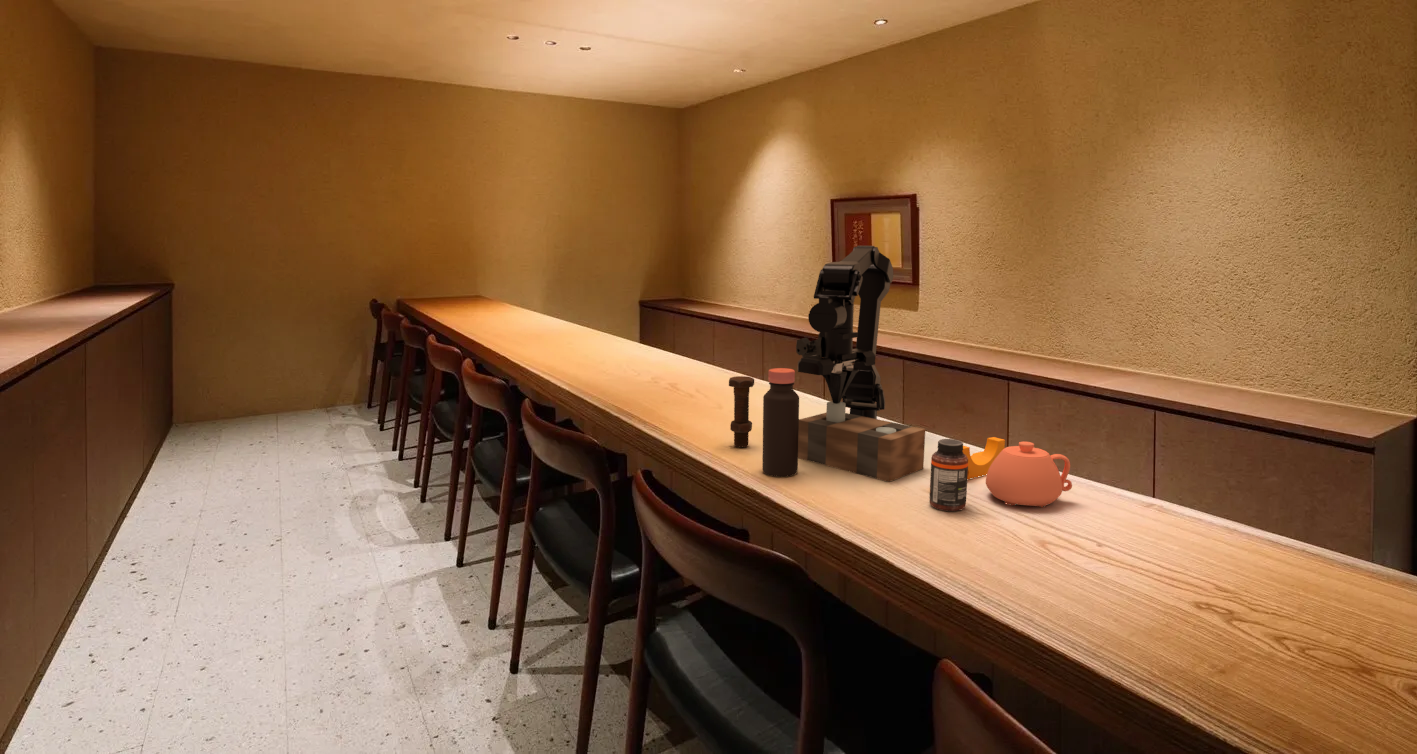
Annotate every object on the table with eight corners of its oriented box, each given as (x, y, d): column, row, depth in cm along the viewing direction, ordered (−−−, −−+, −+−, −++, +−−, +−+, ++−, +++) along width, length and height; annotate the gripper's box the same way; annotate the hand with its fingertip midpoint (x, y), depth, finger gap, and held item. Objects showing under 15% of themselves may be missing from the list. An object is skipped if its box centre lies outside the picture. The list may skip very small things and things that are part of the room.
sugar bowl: (979, 486, 140) (982, 432, 138) (1060, 490, 138) (1065, 435, 136) (991, 509, 128) (995, 450, 126) (1081, 515, 126) (1086, 455, 124)
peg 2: (881, 460, 152) (883, 426, 151) (898, 464, 150) (899, 429, 148) (870, 464, 150) (872, 429, 148) (887, 468, 147) (888, 432, 146)
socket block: (832, 446, 166) (833, 410, 165) (923, 468, 150) (925, 428, 149) (797, 457, 158) (797, 419, 156) (889, 482, 142) (890, 440, 141)
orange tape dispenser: (984, 466, 153) (986, 434, 151) (1002, 472, 149) (1005, 439, 148) (942, 476, 146) (944, 443, 145) (960, 482, 143) (962, 448, 142)
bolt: (750, 450, 163) (751, 381, 160) (727, 449, 164) (727, 380, 161) (754, 443, 169) (755, 376, 166) (731, 442, 170) (732, 375, 167)
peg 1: (833, 433, 160) (834, 400, 159) (848, 436, 158) (849, 403, 156) (822, 436, 158) (822, 403, 156) (837, 439, 155) (838, 406, 154)
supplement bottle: (935, 498, 134) (938, 435, 132) (970, 504, 130) (974, 440, 128) (923, 507, 129) (927, 442, 127) (959, 515, 126) (963, 448, 124)
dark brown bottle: (769, 465, 153) (771, 366, 149) (802, 469, 150) (804, 368, 146) (757, 474, 147) (758, 371, 143) (790, 479, 144) (792, 374, 140)
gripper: (834, 320, 166) (832, 391, 168) (777, 327, 153) (776, 404, 156) (878, 324, 158) (875, 398, 161) (821, 332, 145) (819, 413, 148)
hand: (836, 403), depth 156 cm, fingers closed, pressing on peg 1
